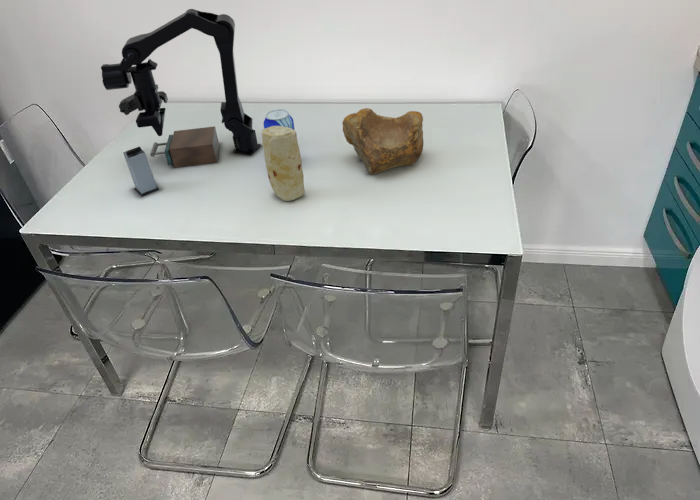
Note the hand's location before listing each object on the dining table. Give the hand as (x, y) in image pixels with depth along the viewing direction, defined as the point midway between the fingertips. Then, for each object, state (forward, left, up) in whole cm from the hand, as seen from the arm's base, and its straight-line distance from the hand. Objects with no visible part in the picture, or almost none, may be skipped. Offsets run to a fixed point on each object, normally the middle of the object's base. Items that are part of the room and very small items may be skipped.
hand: (160, 135), depth 169 cm
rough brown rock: (-65, -15, -8) cm, 68 cm away
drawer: (-4, -2, -7) cm, 9 cm away
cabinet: (-8, -5, -8) cm, 12 cm away
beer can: (-37, -7, -8) cm, 39 cm away
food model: (-46, +8, -8) cm, 48 cm away
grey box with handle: (-5, +17, -8) cm, 19 cm away
